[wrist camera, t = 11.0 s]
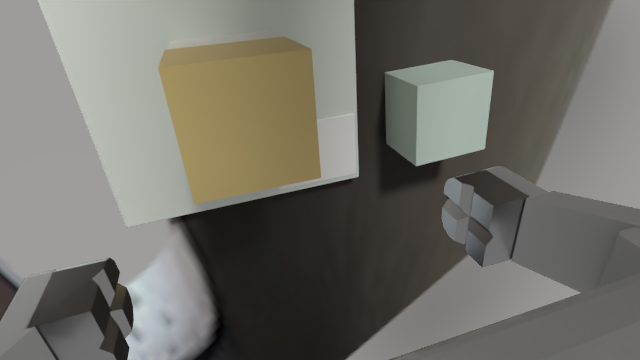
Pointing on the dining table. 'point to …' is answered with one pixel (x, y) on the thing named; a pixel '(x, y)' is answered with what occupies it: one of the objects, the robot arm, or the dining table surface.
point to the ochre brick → (243, 115)
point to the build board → (150, 101)
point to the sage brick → (437, 110)
